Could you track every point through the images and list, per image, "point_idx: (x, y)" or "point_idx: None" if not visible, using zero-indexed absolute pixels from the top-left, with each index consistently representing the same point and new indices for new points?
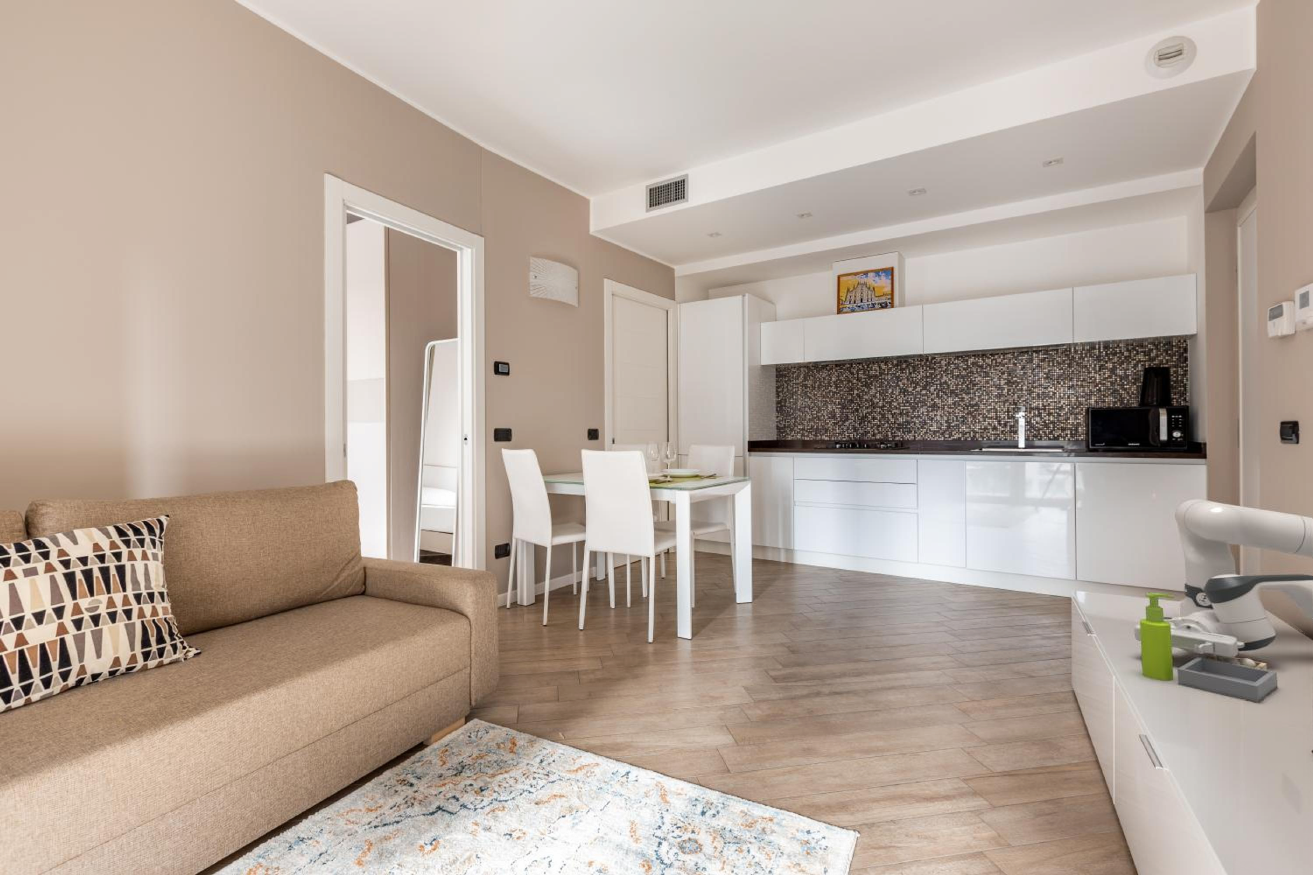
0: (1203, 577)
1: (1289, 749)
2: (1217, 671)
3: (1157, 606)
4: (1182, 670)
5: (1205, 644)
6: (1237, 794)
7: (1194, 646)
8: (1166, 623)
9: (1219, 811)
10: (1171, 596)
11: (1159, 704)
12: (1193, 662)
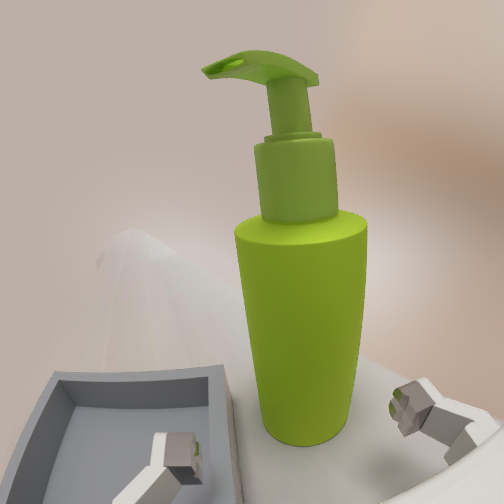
0: None
1: (80, 296)
2: None
3: (272, 133)
4: (209, 367)
5: (143, 483)
6: (128, 246)
7: (189, 432)
8: (246, 225)
9: (137, 236)
10: (212, 70)
11: (208, 298)
12: (217, 468)
